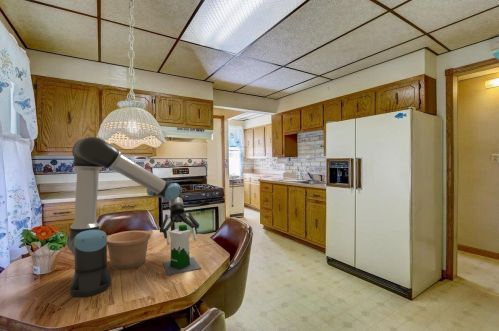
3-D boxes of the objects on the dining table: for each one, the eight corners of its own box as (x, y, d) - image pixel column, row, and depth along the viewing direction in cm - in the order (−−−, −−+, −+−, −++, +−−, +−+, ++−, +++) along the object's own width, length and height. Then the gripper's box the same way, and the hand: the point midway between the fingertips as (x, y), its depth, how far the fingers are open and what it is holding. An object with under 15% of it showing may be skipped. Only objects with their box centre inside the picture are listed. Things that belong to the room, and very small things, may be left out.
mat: (167, 275, 120) (167, 274, 120) (163, 263, 134) (163, 262, 134) (200, 268, 127) (200, 267, 127) (193, 257, 141) (193, 257, 141)
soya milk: (192, 264, 131) (192, 225, 131) (179, 270, 123) (179, 230, 123) (180, 261, 136) (180, 223, 135) (167, 267, 128) (166, 227, 127)
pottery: (117, 276, 119) (117, 245, 119) (97, 264, 132) (97, 237, 132) (158, 261, 136) (158, 235, 136) (137, 252, 150) (137, 228, 149)
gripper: (197, 209, 150) (204, 241, 137) (152, 213, 139) (155, 248, 125) (199, 201, 145) (207, 234, 132) (153, 204, 134) (156, 241, 121)
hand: (182, 241), depth 129 cm, fingers open, 13 cm apart
